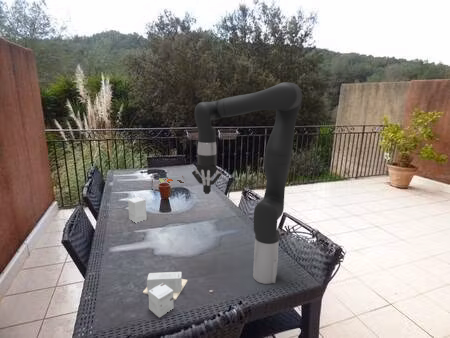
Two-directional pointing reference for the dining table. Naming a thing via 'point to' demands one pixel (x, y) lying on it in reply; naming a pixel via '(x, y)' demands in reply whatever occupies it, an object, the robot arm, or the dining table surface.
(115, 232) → the dining table surface
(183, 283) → the mat
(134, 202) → the supplement box
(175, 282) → the skincare box
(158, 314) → the skincare box
